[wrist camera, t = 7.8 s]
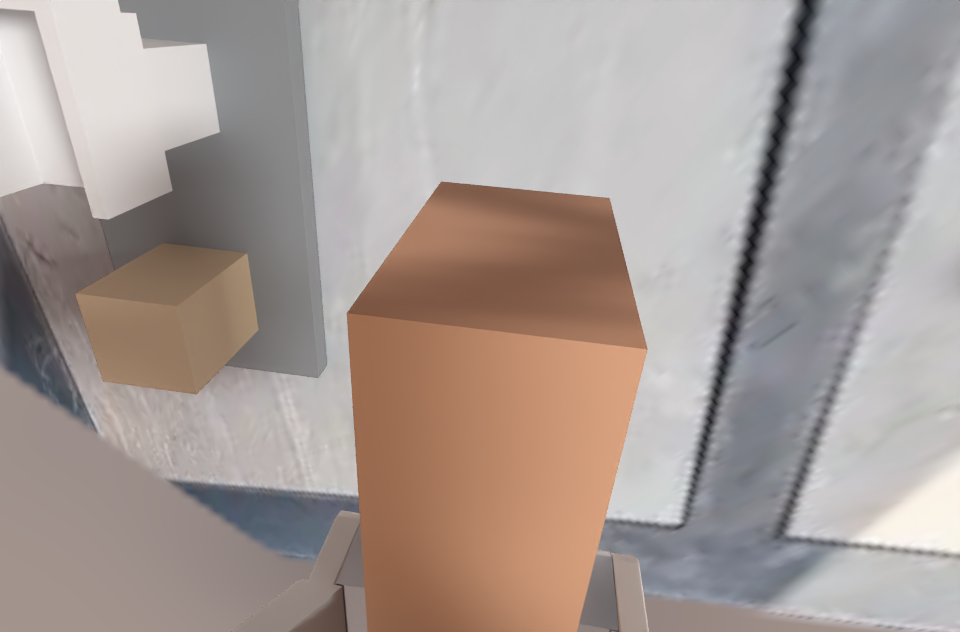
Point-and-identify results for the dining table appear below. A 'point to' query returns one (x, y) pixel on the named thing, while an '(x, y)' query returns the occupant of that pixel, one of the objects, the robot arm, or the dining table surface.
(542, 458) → the rail
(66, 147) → the rail stand
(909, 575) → the dining table surface
